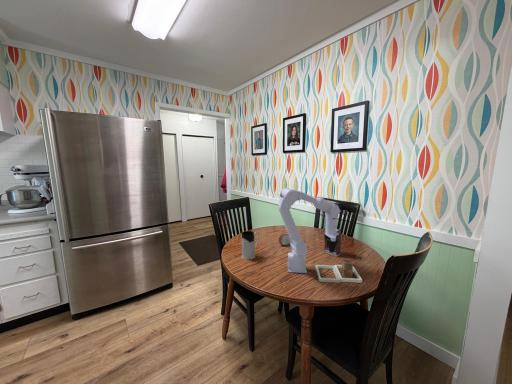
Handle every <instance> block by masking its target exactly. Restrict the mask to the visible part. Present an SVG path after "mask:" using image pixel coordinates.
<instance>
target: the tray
mask: <svg viewBox="0 0 512 384" xmlns="http://www.w3.org/2000/svg"><path fill="white" fill-rule="evenodd" d="M333 266H334V267H335V269H336V271H337V273H338V275H339V278H340V283H341V282H342V283H358V284H361V283H363V279H362V277H361V276H360V274H359V272H358V271H357V269H356V268H355V267H354V265H353V272H352V273H354V275H355V277H356V278H354V277H342V273H341V272H340V271H339V269H341V270H342V264H334V265H333Z"/></svg>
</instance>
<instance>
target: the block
mask: <svg viewBox="0 0 512 384" xmlns="http://www.w3.org/2000/svg"><path fill="white" fill-rule="evenodd" d="M341 265H342V269H341V275H342V276H343V278H353V273H354V272H353V266H354V264H353V261H352V260H351V259H342V260H341Z"/></svg>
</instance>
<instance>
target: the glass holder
mask: <svg viewBox="0 0 512 384" xmlns="http://www.w3.org/2000/svg"><path fill="white" fill-rule="evenodd" d="M256 234H257V240H256V242H255V237H256ZM259 240H260V232H259V231H255V232H254V231H252V230H245V231H242V232H241V259H242V260H246V259H250V260H253V258H254V259H255V258H256V257H255V256H256V254H255V253H256V252H255V251H256V249H255V248H256V247H257V245H258V243H259Z"/></svg>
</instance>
